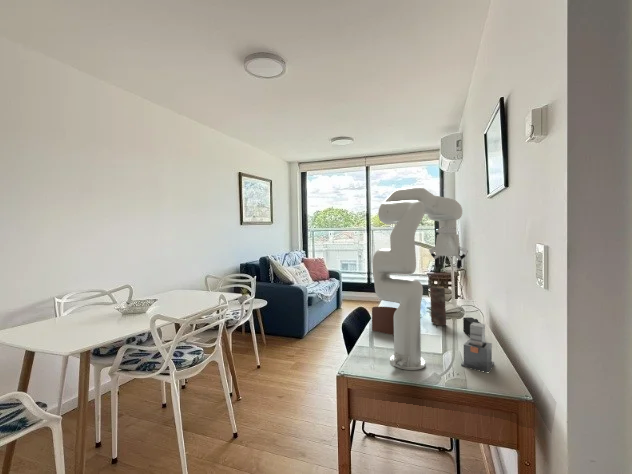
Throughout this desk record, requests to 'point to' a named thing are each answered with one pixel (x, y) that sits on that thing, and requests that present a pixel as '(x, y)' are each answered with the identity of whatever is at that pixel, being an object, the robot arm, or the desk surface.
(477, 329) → the column
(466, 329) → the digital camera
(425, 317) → the desk surface
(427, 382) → the desk surface
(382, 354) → the desk surface
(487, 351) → the stand base
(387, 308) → the letter holder
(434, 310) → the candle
